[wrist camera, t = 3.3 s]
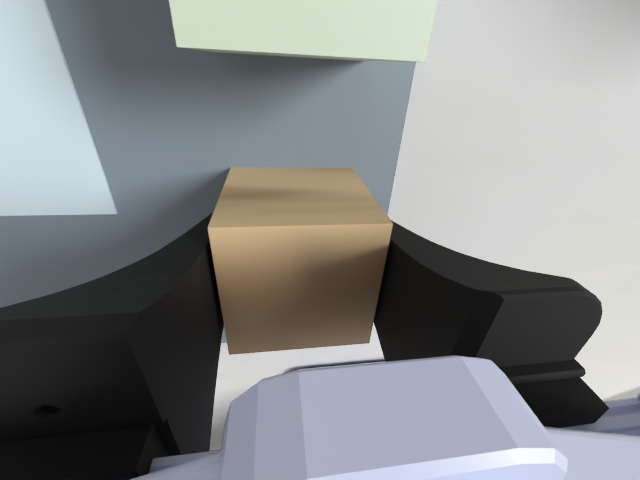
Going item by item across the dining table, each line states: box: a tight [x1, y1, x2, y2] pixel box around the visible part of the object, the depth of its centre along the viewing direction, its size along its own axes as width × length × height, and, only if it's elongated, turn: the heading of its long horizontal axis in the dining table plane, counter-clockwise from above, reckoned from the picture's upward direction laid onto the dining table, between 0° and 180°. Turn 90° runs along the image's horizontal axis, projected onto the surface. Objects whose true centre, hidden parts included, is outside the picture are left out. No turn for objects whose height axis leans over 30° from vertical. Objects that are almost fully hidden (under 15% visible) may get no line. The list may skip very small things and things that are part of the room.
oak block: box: [208, 167, 393, 354], centre depth 10 cm, size 4×4×4 cm
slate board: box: [0, 0, 416, 343], centre depth 10 cm, size 18×18×1 cm
